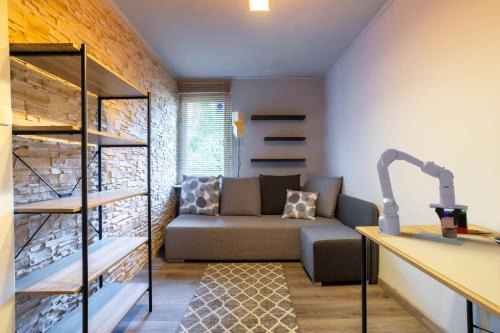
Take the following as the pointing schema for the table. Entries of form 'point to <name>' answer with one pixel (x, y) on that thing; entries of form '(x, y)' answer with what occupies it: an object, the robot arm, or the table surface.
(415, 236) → the mat
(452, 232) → the walnut block
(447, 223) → the terracotta block
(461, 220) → the puzzle toy
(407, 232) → the table surface
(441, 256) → the table surface
